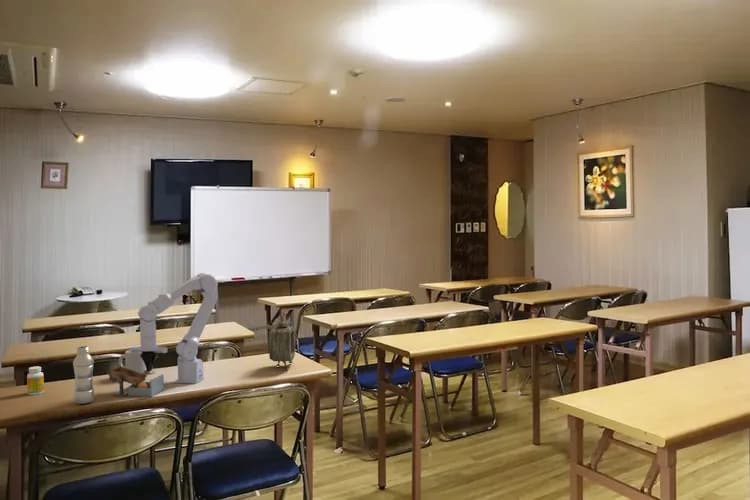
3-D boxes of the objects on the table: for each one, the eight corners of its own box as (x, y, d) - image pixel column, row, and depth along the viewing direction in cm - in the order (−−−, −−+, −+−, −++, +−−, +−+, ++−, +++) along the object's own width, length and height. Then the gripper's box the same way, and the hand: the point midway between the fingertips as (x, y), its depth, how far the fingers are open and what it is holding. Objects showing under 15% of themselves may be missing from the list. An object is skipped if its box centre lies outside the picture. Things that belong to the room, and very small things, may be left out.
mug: (151, 374, 243) (151, 348, 243) (141, 379, 235) (140, 353, 235) (125, 373, 245) (124, 348, 245) (113, 379, 237) (112, 352, 236)
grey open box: (163, 390, 219) (163, 374, 219) (151, 396, 211) (151, 380, 210) (141, 389, 221) (140, 373, 220) (128, 396, 212) (127, 380, 212)
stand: (141, 388, 222) (141, 371, 221) (125, 396, 211) (125, 378, 211) (129, 388, 222) (129, 371, 222) (113, 396, 212) (112, 378, 211)
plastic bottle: (78, 400, 207) (76, 345, 206) (98, 400, 207) (96, 345, 207) (70, 406, 200) (68, 349, 200) (90, 405, 201) (88, 348, 200)
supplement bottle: (32, 395, 214) (31, 370, 214) (24, 393, 217) (23, 368, 216) (46, 392, 219) (46, 366, 218) (39, 390, 221) (38, 365, 221)
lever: (153, 380, 226) (155, 370, 226) (134, 390, 213) (136, 379, 212) (127, 371, 227) (130, 362, 227) (107, 380, 214) (110, 370, 214)
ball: (150, 383, 217) (142, 379, 218) (145, 386, 214) (137, 381, 214) (146, 392, 218) (138, 387, 218) (141, 394, 214) (133, 390, 214)
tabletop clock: (290, 371, 245) (289, 313, 244) (269, 371, 246) (267, 313, 245) (295, 363, 260) (294, 308, 259) (275, 363, 260) (274, 308, 259)
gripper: (125, 337, 221) (126, 372, 221) (160, 338, 219) (161, 373, 219) (135, 334, 228) (136, 368, 228) (169, 334, 226) (170, 369, 226)
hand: (149, 370), depth 224 cm, fingers closed, pressing on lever
